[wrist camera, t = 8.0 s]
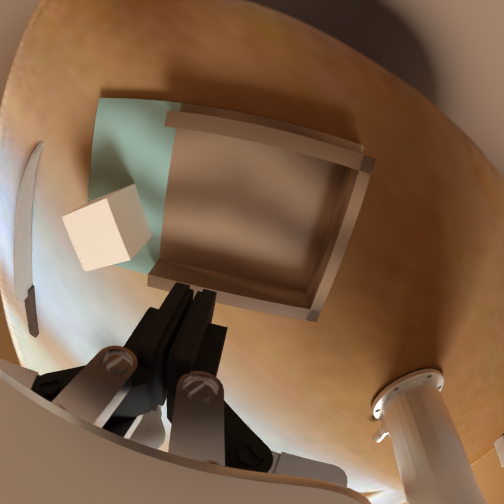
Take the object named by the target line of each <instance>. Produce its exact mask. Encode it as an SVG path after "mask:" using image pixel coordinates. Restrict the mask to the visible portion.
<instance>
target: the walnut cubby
mask: <svg viewBox="0 0 504 504" xmlns="http://www.w3.org/2000/svg"><path fill="white" fill-rule="evenodd" d="M364 147H365V146H363V145H360V144H358V143H355V142H352V141H349V140H346V139H343V138H340V137H337V136H334V135H330V134H327V133H324V132H321V131H317V130H314V129H310V128H307V127H303V126H299V125H296V124H292V123H288V122H284V121H280V120H276V119H271V118H267V117H263V116H258V115H253V114H248V113H243V112H238V111H233V110H227V109H222V108H215V107H209V106H202V105H195V104H187V103H179V102H169V101H158V100H145V99H127V98H99V102H98V108H97V114H96V120H95V127H94V135H93V143H92V153H91V164H90V179H89V202H90V201H92V200H94V199H96V198H99V197H101V196H104V195H106V194H109V193H111V192H114V191H116V190H119V189H122V188H124V187H127V186H130V185H132V184H135V185H136V188H137V191H138V194H139V197H140V200H141V203H142V206H143V209H144V212H145V215H146V217H147V220H148V223H149V226H150V228H151V231H152V234H153V236H152V237H151V238H150V240H149V241H148V242H147V243H146V244H145V245H144V246H143V247H142V248H141V249H140V250H139V251H138V253H137V254H136V255H135V256H134V257H133V258H132V259H131V260H129V261H125V262H121V263H117V264H113V265H115V266H119V267H123V268H126V269H130V270H134V271H138V272H142V273H145V274H148V286H150V287H154V288H157V289H161V290H165V291H169V292H170V291H171V289H172V288H173V286H174V285H175V283H176V282H180V283H184V284H187V285H190V289H193V290H194V296H193V297H195V295H196V293H197V291H200V292H202V291H203V289H207V290H211V291H215V292H217V295H216V300H215V302H216V303H220V304H225V305H230V306H234V307H239V308H244V309H249V310H254V311H259V312H264V313H269V314H274V315H279V316H285V317H290V318H296V319H302V320H307V321H313V322H317V319H318V317H319V315H320V313H321V310H322V308H323V306H324V303H325V301H326V299H327V296H328V294H329V291H330V289H331V287H332V284H333V282H334V279H335V277H336V274H337V272H338V269H339V267H340V264H341V261H342V259H343V256H344V253H345V251H346V248H347V245H348V243H349V240H350V237H351V234H352V232H353V229H354V226H355V223H356V220H357V217H358V214H359V211H360V208H361V205H362V202H363V199H364V196H365V193H366V190H367V187H368V183H369V180H370V177H371V173H372V170H373V167H374V163H375V160H376V159H373V158H371V157H368V156H365V155H362V154H363V150H364Z"/></svg>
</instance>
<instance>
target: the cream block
mask: <svg viewBox="0 0 504 504" xmlns="http://www.w3.org/2000/svg"><path fill="white" fill-rule="evenodd" d="M62 219H63V221H64V224H65V226H66V229H67V231H68V234H69V236H70V239H71V241H72V244H73V246H74V248H75V251H76V253H77V255H78V257H79V260H80V262H81V264H82V266H83V268H84V270H85V271H89V270H93V269H97V268H101V267H105V266H109V265H113V264H117V263H121V262H125V261H129V260H131V259H132V258H133V257H134V256H135V255H136V254H137V253H138V251H139V250H140V249H141V248H142V247H143V246H144V245H145V244H146V243H147V242H148V241H149V240H150V238H151V237H152V236H153V234H152V231H151V228H150V226H149V223H148V220H147V217H146V215H145V212H144V209H143V206H142V203H141V200H140V197H139V194H138V191H137V188H136V185H135V184H132V185H130V186H127V187H124V188H122V189H119V190H116V191H114V192H111V193H109V194H106V195H104V196H101V197H99V198H96V199H94V200H92V201H90V202H88V203H86V204H84V205H82V206H81V207H79V208H77V209H75V210H73V211H72V212H70V213H68V214H66V215H64V216H63V217H62Z"/></svg>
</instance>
